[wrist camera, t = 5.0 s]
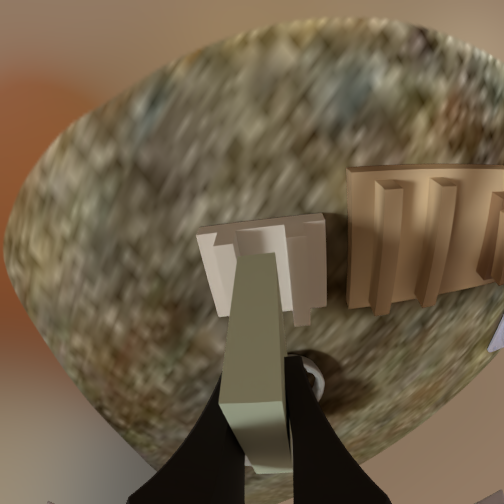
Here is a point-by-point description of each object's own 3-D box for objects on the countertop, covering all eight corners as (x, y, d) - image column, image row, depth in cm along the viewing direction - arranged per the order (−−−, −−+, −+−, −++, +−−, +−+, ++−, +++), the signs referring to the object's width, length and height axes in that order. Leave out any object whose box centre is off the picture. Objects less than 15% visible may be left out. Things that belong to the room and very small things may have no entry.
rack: (527, 166, 13) (549, 178, 11) (505, 270, 18) (521, 288, 16) (346, 167, 15) (359, 181, 13) (345, 299, 19) (353, 325, 17)
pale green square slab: (274, 252, 13) (281, 400, 7) (287, 356, 16) (293, 472, 10) (237, 256, 13) (218, 403, 7) (259, 359, 16) (256, 473, 10)
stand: (321, 212, 16) (330, 233, 14) (324, 296, 19) (330, 322, 17) (199, 227, 17) (190, 248, 15) (220, 306, 20) (215, 332, 18)
